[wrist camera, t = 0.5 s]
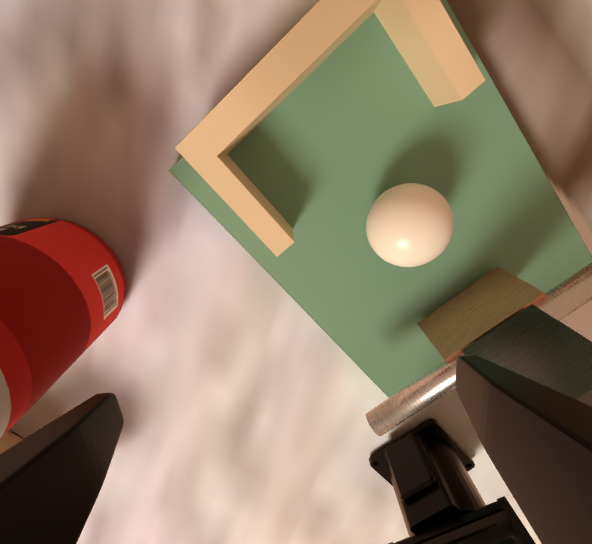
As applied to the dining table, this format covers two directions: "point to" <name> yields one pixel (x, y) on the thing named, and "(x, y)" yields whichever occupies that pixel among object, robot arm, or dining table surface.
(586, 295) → the kicker rod
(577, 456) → the robot arm
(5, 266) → the canned food
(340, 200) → the pitch
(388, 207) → the ball
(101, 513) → the dining table surface
